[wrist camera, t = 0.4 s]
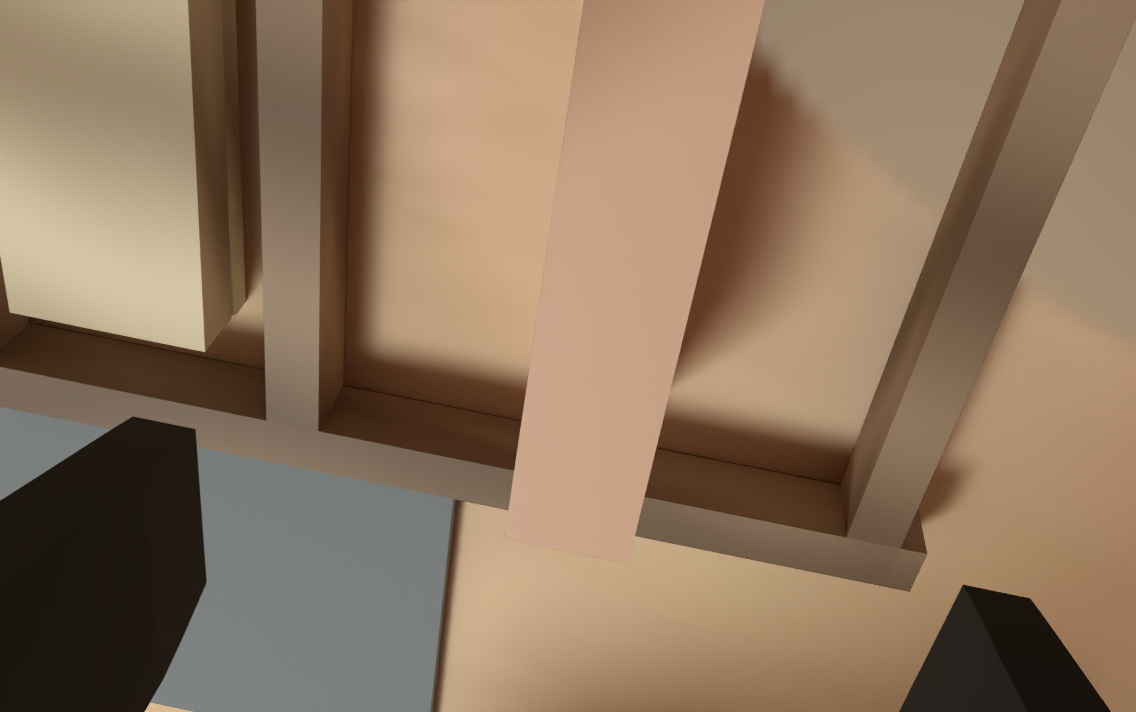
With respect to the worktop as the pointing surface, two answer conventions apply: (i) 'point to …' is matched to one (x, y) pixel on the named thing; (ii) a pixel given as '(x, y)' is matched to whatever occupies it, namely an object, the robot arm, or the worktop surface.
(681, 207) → the dusty pink block
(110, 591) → the robot arm
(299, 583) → the slate mat
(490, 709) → the worktop surface
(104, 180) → the offcut upper
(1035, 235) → the walnut rack
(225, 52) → the offcut lower
